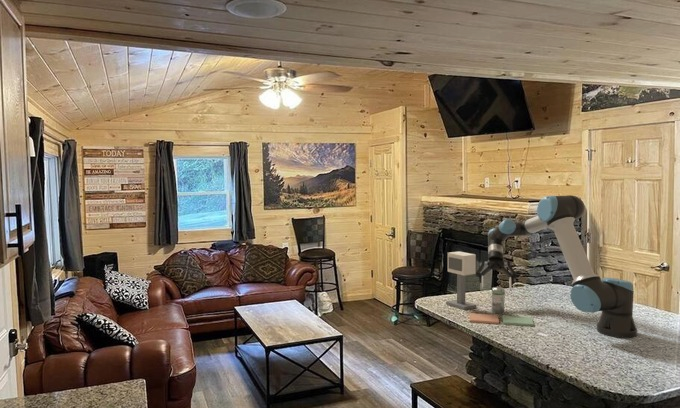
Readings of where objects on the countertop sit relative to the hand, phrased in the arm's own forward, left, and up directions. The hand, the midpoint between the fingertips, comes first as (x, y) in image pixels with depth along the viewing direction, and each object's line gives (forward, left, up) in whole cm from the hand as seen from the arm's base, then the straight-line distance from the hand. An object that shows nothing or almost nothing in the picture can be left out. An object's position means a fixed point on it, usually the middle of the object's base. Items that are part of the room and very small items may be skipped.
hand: (496, 288), depth 252 cm
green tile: (-20, -9, -10) cm, 24 cm away
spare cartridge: (-6, -1, -11) cm, 12 cm away
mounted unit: (+2, +17, -10) cm, 20 cm away
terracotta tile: (-20, +6, -10) cm, 23 cm away
